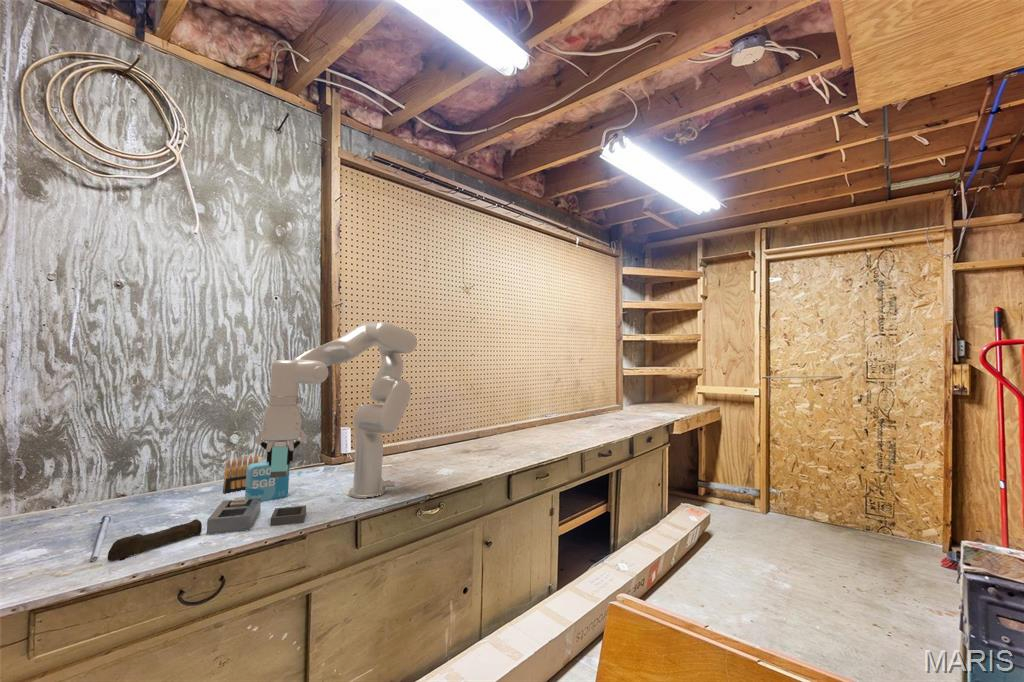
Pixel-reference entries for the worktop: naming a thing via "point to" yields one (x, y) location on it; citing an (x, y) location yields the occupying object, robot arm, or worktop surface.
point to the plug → (279, 459)
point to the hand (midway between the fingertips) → (279, 463)
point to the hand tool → (152, 539)
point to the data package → (265, 483)
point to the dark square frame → (288, 515)
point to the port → (234, 515)
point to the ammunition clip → (236, 475)
